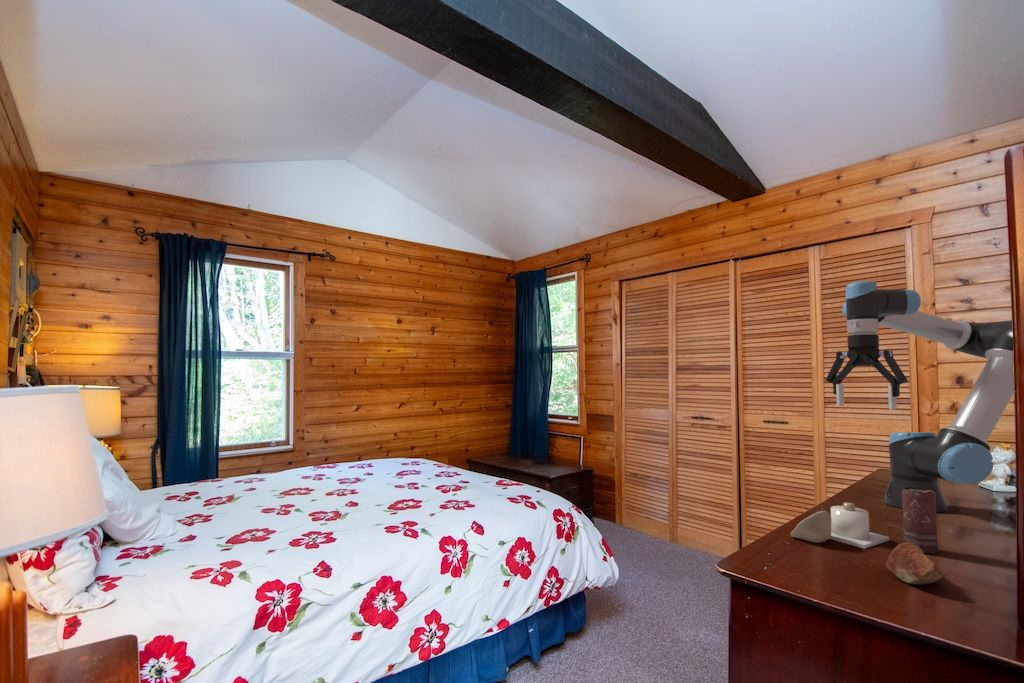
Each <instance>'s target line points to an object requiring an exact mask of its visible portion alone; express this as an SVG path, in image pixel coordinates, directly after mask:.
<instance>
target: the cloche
mask: <svg viewBox="0 0 1024 683" xmlns="http://www.w3.org/2000/svg"><path fill="white" fill-rule="evenodd" d="M830 516H831V531H832V533H834V534H836V535H838V536H841V537H846V538H851V539H868V538H869V537H870V535H869V532H870V514H869V511H868V510H866V509H863V508H861V507H856V505H855V503H854V502H848V501H845V502H843V503H842V505H832V506H830Z"/></svg>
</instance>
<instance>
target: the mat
mask: <svg viewBox="0 0 1024 683" xmlns="http://www.w3.org/2000/svg"><path fill="white" fill-rule="evenodd" d="M869 535H870V537H869V538H868V539H851V538H846V537H841V536H838V535H836V534H834V533H832V531H831V536H830V538H829V539H828V540H832V541H836V542H839V543H842V544H847V545H851V546H854V547H857V548H860V549H867V548H870V547H874V546H877V545H880V544H883V543H886V542H888V541H890V536H887V535H883V534H878V533H874V532H870V531H869Z"/></svg>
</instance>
